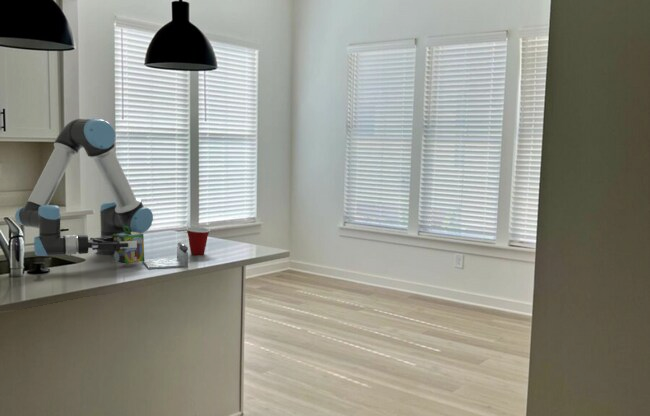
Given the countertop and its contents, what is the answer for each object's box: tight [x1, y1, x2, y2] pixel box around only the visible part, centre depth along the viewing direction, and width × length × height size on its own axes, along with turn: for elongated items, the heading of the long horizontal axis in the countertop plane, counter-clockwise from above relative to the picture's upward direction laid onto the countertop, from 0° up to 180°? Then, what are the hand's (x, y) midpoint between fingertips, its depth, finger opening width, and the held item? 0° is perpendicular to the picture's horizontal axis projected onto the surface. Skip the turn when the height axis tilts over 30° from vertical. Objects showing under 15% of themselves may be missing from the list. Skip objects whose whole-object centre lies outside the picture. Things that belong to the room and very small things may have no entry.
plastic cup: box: [185, 226, 211, 256], centre depth 280 cm, size 11×11×12 cm
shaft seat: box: [142, 241, 189, 270], centre depth 256 cm, size 16×16×8 cm
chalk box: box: [113, 225, 146, 265], centre depth 250 cm, size 9×9×15 cm
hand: (134, 241), depth 251 cm, fingers closed on chalk box, 11 cm apart
